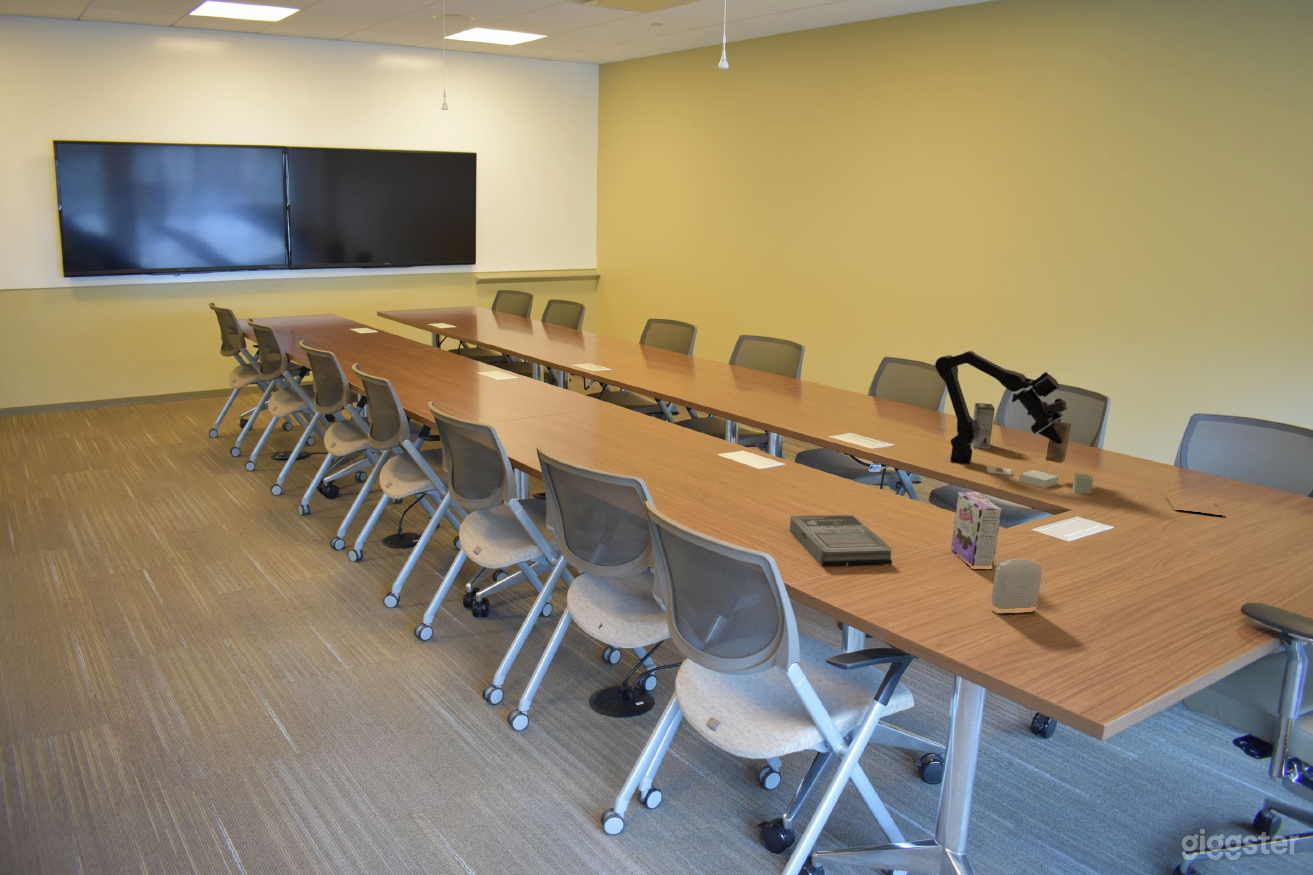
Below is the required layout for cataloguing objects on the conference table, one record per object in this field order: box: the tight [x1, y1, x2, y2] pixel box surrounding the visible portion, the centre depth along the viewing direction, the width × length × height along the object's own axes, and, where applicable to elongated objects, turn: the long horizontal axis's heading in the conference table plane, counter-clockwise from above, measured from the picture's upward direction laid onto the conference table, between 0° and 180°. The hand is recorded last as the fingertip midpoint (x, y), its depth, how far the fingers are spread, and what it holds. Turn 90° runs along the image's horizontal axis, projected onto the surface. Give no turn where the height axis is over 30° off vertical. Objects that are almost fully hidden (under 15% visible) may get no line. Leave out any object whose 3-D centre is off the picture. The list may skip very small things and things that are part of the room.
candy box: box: [950, 491, 1002, 566], centre depth 236 cm, size 14×6×16 cm, turn 5°
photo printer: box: [990, 558, 1042, 609], centre depth 206 cm, size 10×4×12 cm, turn 100°
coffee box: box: [971, 402, 996, 450], centre depth 356 cm, size 9×6×16 cm
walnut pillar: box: [1045, 421, 1072, 464], centre depth 312 cm, size 5×5×13 cm
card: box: [986, 466, 1013, 476], centre depth 322 cm, size 8×6×1 cm
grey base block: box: [1018, 469, 1060, 489], centre depth 310 cm, size 9×9×3 cm
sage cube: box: [1071, 473, 1094, 495], centre depth 302 cm, size 5×5×5 cm
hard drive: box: [789, 514, 893, 568], centre depth 243 cm, size 18×27×4 cm
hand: (1062, 442), depth 311 cm, fingers closed on walnut pillar, 5 cm apart
